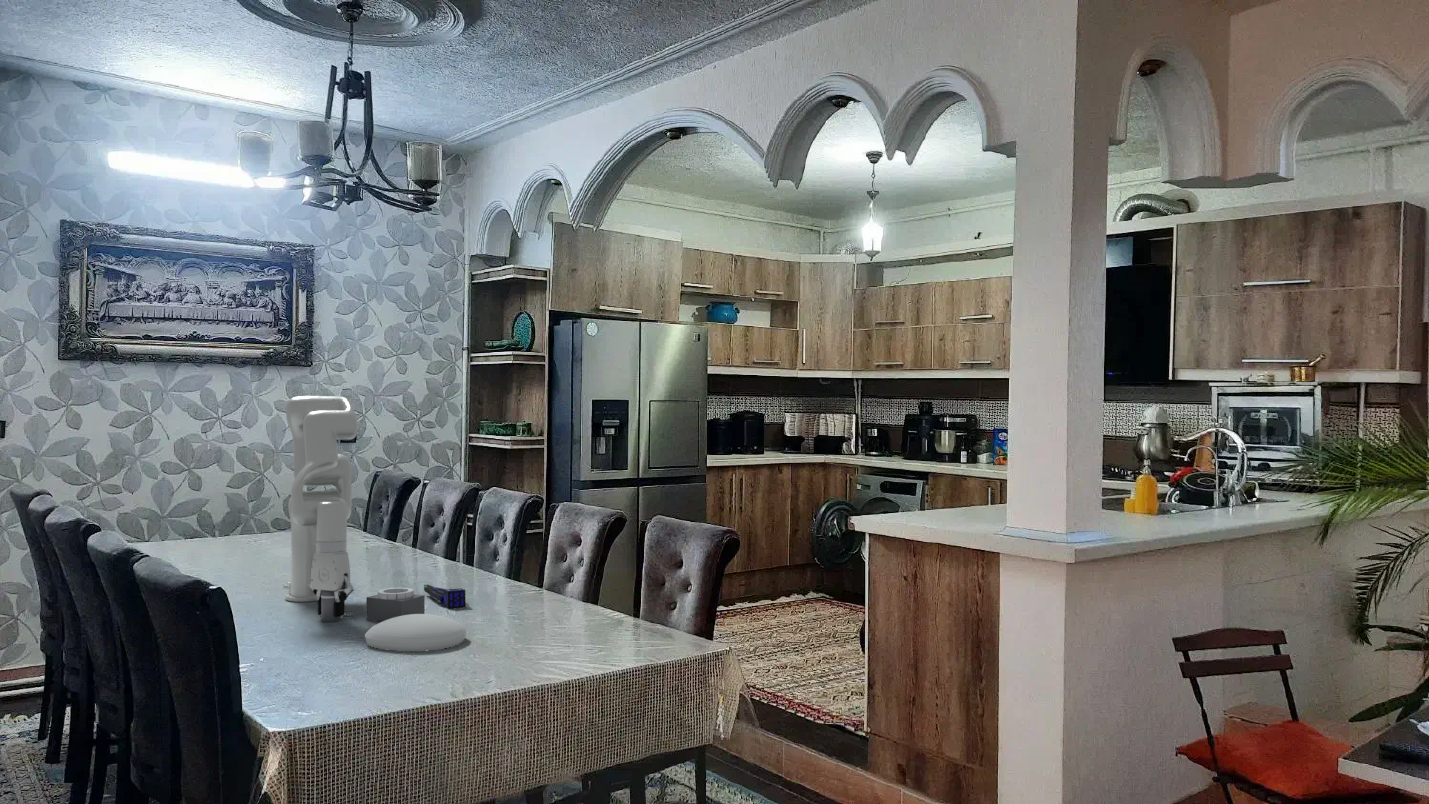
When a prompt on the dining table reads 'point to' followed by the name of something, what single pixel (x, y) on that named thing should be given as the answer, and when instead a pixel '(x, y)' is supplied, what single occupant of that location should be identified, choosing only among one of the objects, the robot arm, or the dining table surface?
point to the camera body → (394, 604)
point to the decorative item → (416, 633)
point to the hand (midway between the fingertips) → (331, 614)
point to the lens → (328, 606)
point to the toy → (447, 596)
